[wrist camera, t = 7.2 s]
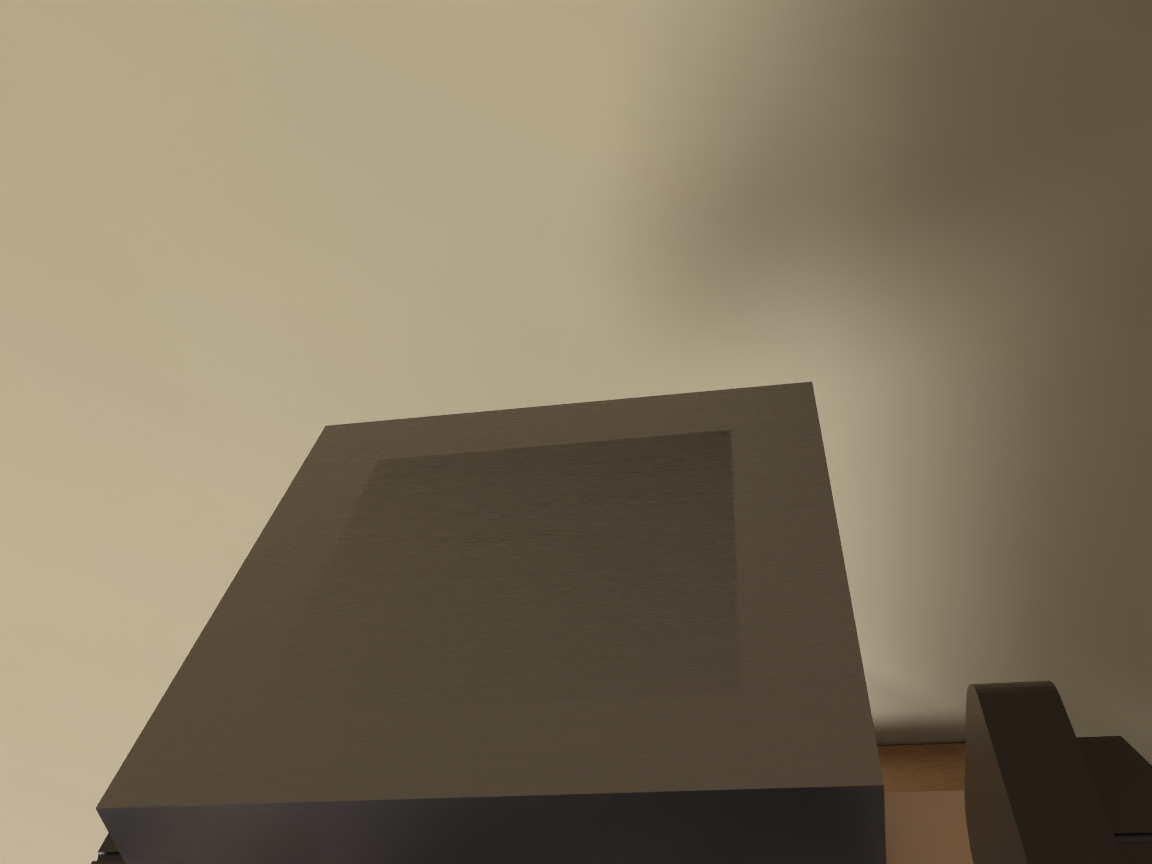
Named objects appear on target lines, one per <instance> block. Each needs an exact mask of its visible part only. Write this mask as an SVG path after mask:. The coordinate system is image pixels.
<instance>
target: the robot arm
mask: <svg viewBox="0 0 1152 864" xmlns="http://www.w3.org/2000/svg"><path fill="white" fill-rule="evenodd" d="M964 798H965V814H966V823H967V831H968V838H969V844H970V849H971V854H972V859H973V864H1152V766H1151V765H1150V764H1149V763H1148V762H1147V761H1146V760H1145V759H1144V758H1143V757H1142V756H1141V755H1140V754H1139V753H1138V752H1137V751H1136V750H1135V749H1134V748H1133V747H1132V746H1131V745H1130V744H1129V743H1128V742H1126V741H1125V740H1124V739H1123V738H1122V737H1121V736H1106V737H1078V738H1076V736H1075V733H1074V731H1073V728H1072V726H1071V723H1070V721H1069V718H1068V716H1067V713H1066V710H1065V708H1064V705H1063V703H1062V700H1061V698H1060V695H1059V693H1058V691H1057V689H1056V687H1055V685H1054V684H1053V683H1052V682H1051V681H1036V682H1013V683H990V684H970V685H969V686H968V690H967V701H966V743H965V786H964ZM91 864H126V863H125V862H124V860H123V858H122V856H121V854H120V852H119V850H118V849H117V847H116V845H115V843H114V841H113V839H112V837H111V836H110V834H108V835H107V837H106V839H105V841H104V842H103V844H102V846H101V847H100V849H99V851H98V860H97V861H92V863H91Z"/></svg>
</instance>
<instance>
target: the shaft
mask: <svg viewBox="0 0 1152 864" xmlns="http://www.w3.org/2000/svg"><path fill="white" fill-rule="evenodd" d="M96 810H97V811H98V813H99V815H100V817H101V819H102V821H103V823H104V824H105V826H106V828H107V830H108V832H109V834H110V836H111V837H112V839H113V841H114V843H115V845H116V847H117V849H118V850H119V852H120V854H121V856H122V858H123V860H124V862H125V863H126V864H886V836H885V800H884V782H883V776H882V771H881V765H880V759H879V754H878V748H877V743H876V737H875V731H874V726H873V720H872V715H871V709H870V704H869V698H868V692H867V687H866V681H865V676H864V670H863V664H862V659H861V653H860V648H859V642H858V636H857V631H856V625H855V620H854V614H853V608H852V603H851V597H850V592H849V586H848V580H847V575H846V569H845V564H844V558H843V553H842V547H841V541H840V536H839V530H838V525H837V519H836V513H835V508H834V502H833V497H832V491H831V485H830V480H829V474H828V469H827V463H826V457H825V452H824V446H823V441H822V435H821V429H820V424H819V418H818V413H817V407H816V401H815V396H814V390H813V385H812V382H804V383H793V384H782V385H771V386H760V387H749V388H738V389H727V390H716V391H705V392H694V393H683V394H672V395H661V396H650V397H639V398H628V399H617V400H606V401H595V402H584V403H573V404H562V405H551V406H540V407H529V408H518V409H507V410H496V411H485V412H474V413H463V414H452V415H441V416H430V417H419V418H408V419H397V420H386V421H375V422H364V423H353V424H342V425H331V426H325V428H324V430H323V431H322V433H321V435H320V436H319V438H318V440H317V441H316V443H315V445H314V446H313V448H312V450H311V451H310V453H309V455H308V456H307V458H306V460H305V461H304V463H303V465H302V466H301V468H300V470H299V471H298V473H297V475H296V476H295V478H294V480H293V481H292V483H291V485H290V486H289V488H288V490H287V491H286V493H285V495H284V496H283V498H282V500H281V501H280V503H279V504H278V506H277V508H276V509H275V511H274V513H273V514H272V516H271V518H270V519H269V521H268V523H267V524H266V526H265V528H264V529H263V531H262V533H261V534H260V536H259V538H258V539H257V541H256V543H255V544H254V546H253V548H252V549H251V551H250V553H249V554H248V556H247V558H246V559H245V561H244V563H243V564H242V566H241V568H240V569H239V571H238V573H237V574H236V576H235V578H234V579H233V581H232V583H231V584H230V586H229V588H228V589H227V591H226V593H225V594H224V596H223V598H222V599H221V601H220V603H219V604H218V606H217V608H216V609H215V611H214V613H213V614H212V616H211V618H210V619H209V621H208V623H207V624H206V626H205V628H204V629H203V631H202V633H201V634H200V636H199V638H198V639H197V641H196V643H195V644H194V646H193V648H192V649H191V651H190V652H189V654H188V656H187V657H186V659H185V661H184V662H183V664H182V666H181V667H180V669H179V671H178V672H177V674H176V676H175V677H174V679H173V681H172V682H171V684H170V686H169V687H168V689H167V691H166V692H165V694H164V696H163V697H162V699H161V701H160V702H159V704H158V706H157V707H156V709H155V711H154V712H153V714H152V716H151V717H150V719H149V721H148V722H147V724H146V726H145V727H144V729H143V731H142V732H141V734H140V736H139V737H138V739H137V741H136V742H135V744H134V746H133V747H132V749H131V751H130V752H129V754H128V756H127V757H126V759H125V761H124V762H123V764H122V766H121V767H120V769H119V771H118V772H117V774H116V776H115V777H114V779H113V781H112V782H111V784H110V786H109V787H108V789H107V791H106V792H105V794H104V796H103V797H102V799H101V800H100V802H99V804H98V805H97V807H96Z"/></svg>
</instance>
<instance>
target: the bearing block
mask: <svg viewBox="0 0 1152 864" xmlns="http://www.w3.org/2000/svg"><path fill="white" fill-rule="evenodd" d="M877 748H878V754H879V759H880V765H881V771H882V776H883V782H884V800H885V836H886V864H973V859H972V854H971V849H970V844H969V838H968V831H967V823H966V814H965V798H964V786H965V743H954V744H925V745H897V746H877Z"/></svg>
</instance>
